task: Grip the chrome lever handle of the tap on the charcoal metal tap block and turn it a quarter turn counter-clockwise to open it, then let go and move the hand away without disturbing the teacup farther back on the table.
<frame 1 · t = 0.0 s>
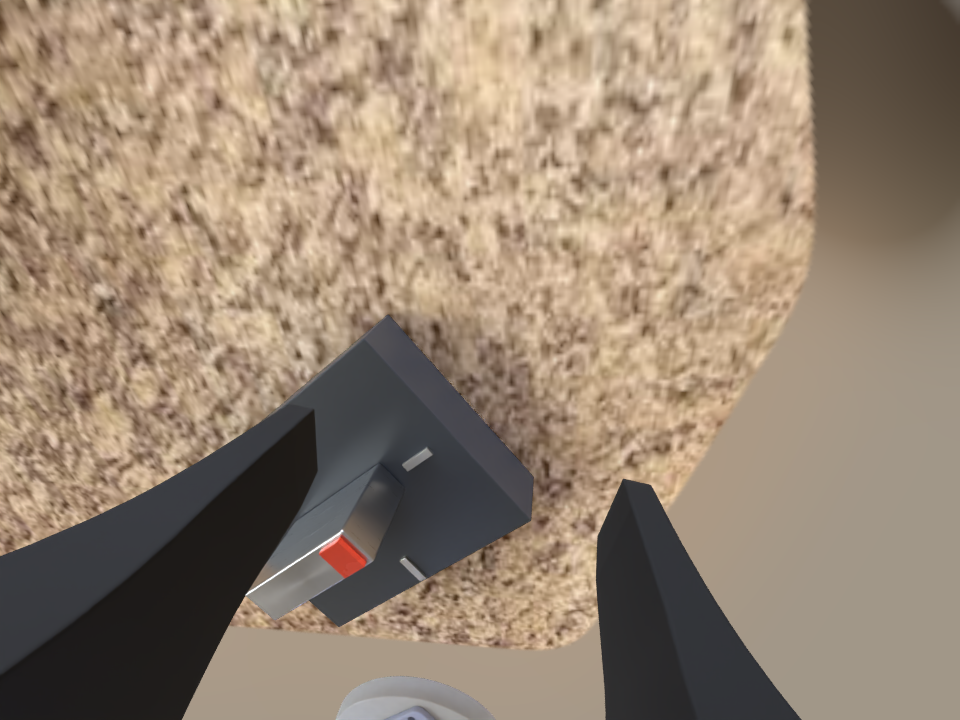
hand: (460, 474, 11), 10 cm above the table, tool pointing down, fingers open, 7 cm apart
tap block: (372, 464, 24), on the table
tap handle: (328, 541, 19), point 5 cm above the table, hinge at 0.0°
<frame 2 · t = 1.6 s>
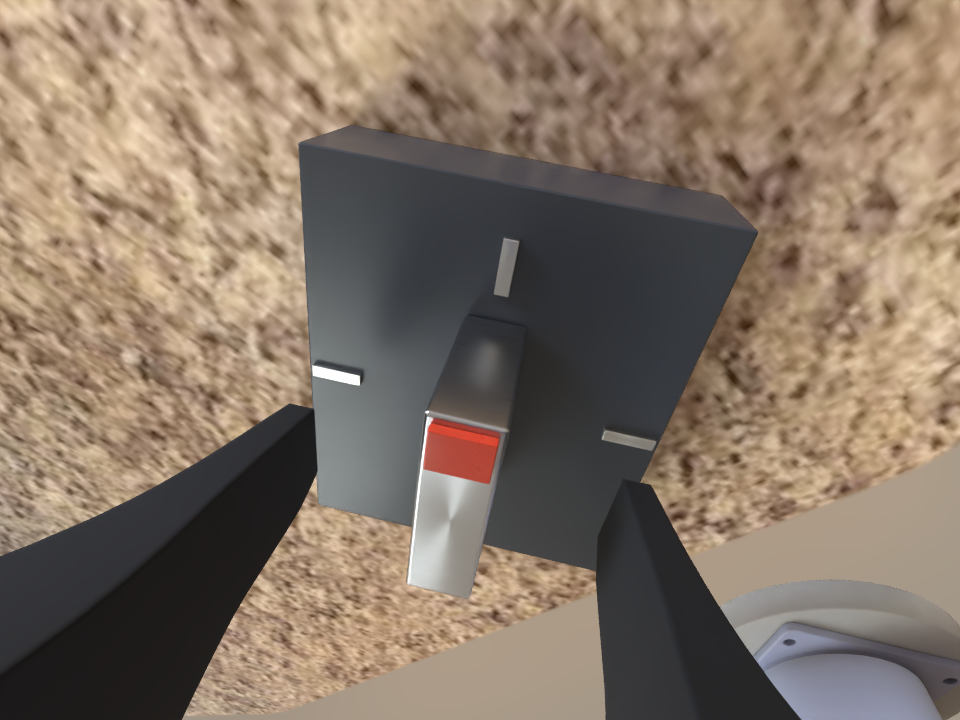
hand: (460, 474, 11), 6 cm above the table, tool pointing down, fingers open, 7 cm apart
tap block: (495, 349, 16), on the table
tap handle: (466, 458, 12), point 5 cm above the table, hinge at 0.0°
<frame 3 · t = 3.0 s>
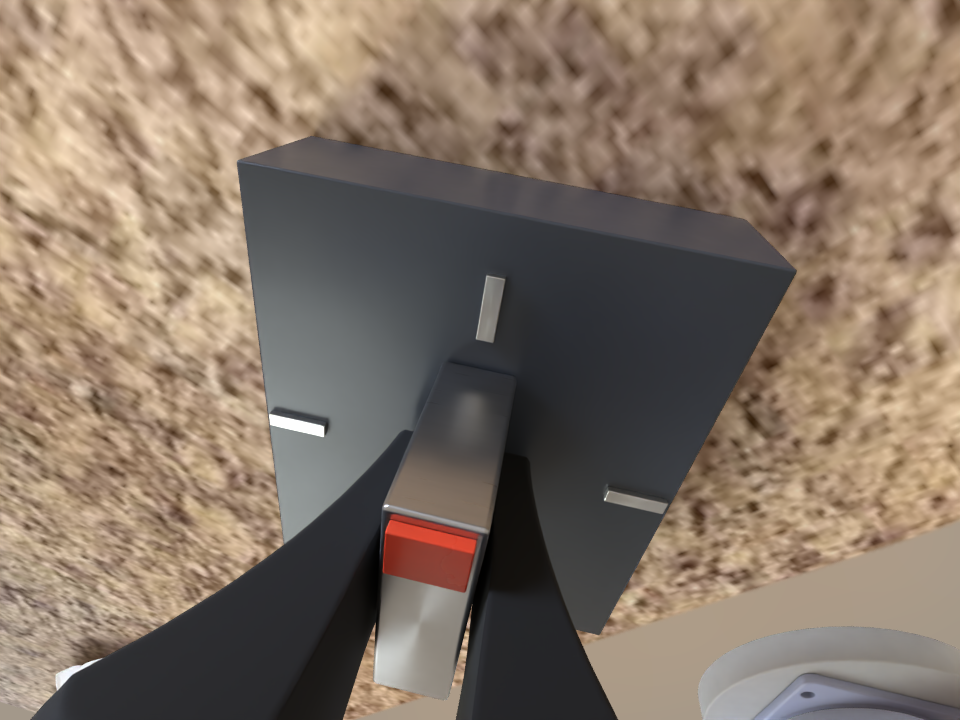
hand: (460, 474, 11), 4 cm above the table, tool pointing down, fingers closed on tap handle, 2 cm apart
tap block: (483, 387, 14), on the table
tissue: (120, 664, 30), on the table
tap handle: (443, 532, 10), point 5 cm above the table, hinge at -0.1°, touching gripper
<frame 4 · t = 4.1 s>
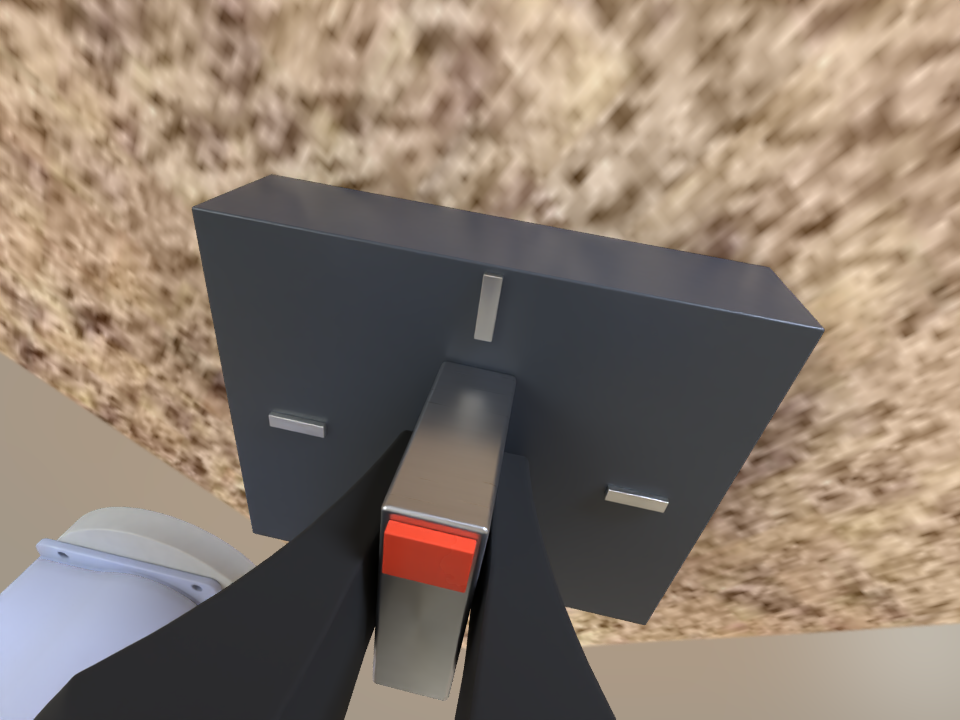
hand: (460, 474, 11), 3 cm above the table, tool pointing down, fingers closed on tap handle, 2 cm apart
tap block: (483, 387, 14), on the table
tap handle: (443, 532, 10), point 5 cm above the table, hinge at 89.4°, touching gripper
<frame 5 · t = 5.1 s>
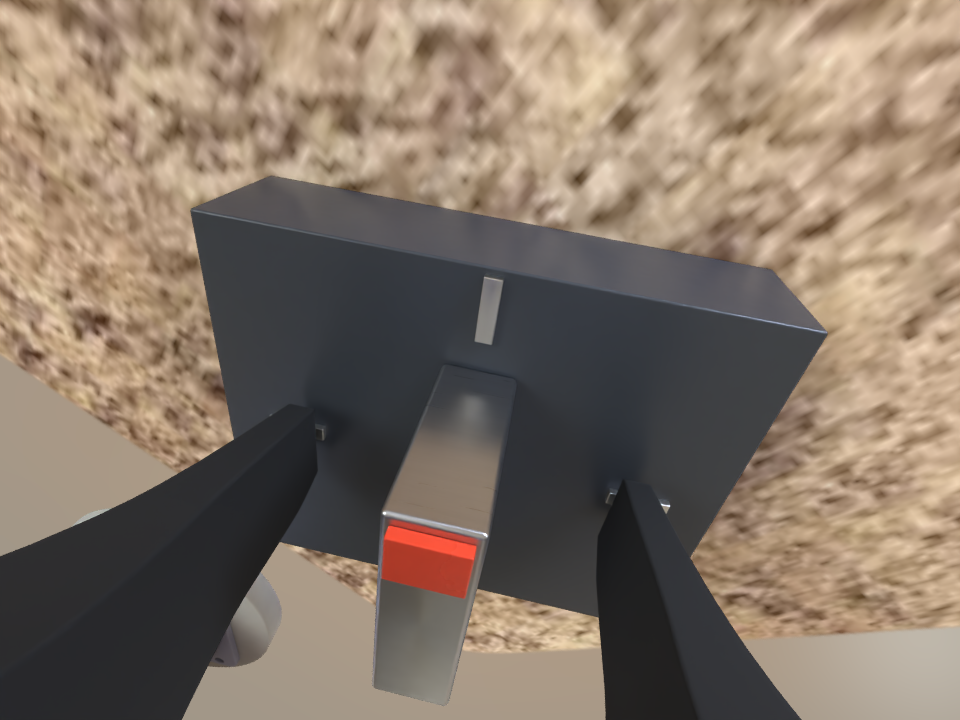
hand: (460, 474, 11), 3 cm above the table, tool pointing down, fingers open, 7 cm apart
tap block: (483, 389, 14), on the table
tap handle: (443, 536, 10), point 5 cm above the table, hinge at 89.5°
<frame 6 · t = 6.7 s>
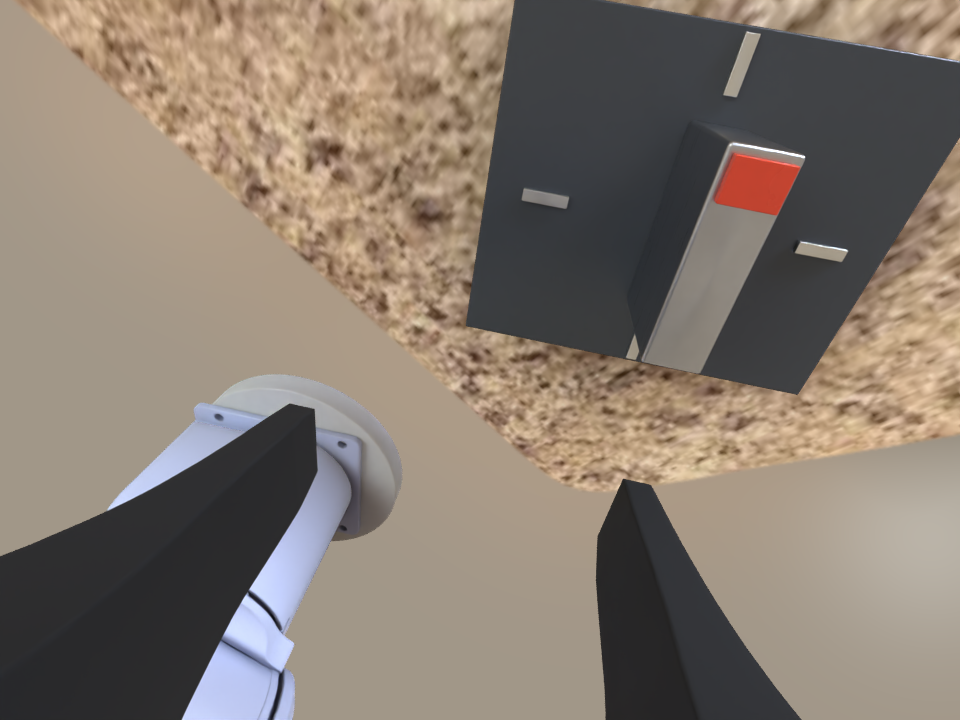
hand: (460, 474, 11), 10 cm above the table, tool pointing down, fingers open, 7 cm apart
tap block: (664, 199, 17), on the table
tap handle: (695, 247, 13), point 5 cm above the table, hinge at 89.5°
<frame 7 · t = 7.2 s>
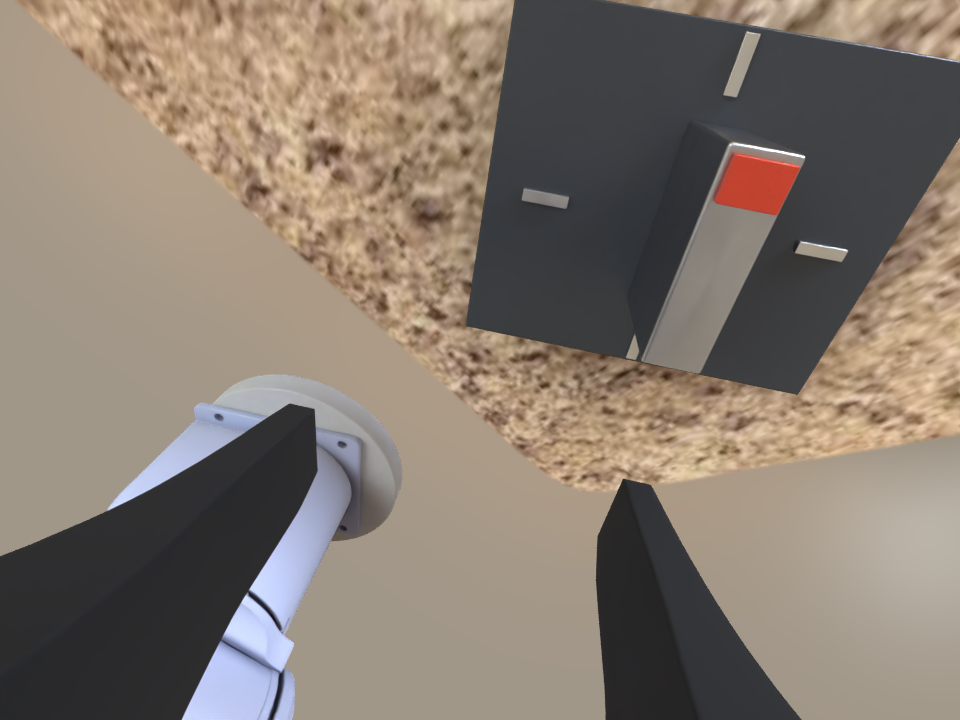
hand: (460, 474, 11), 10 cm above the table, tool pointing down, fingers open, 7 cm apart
tap block: (664, 199, 17), on the table
tap handle: (695, 247, 13), point 5 cm above the table, hinge at 89.5°
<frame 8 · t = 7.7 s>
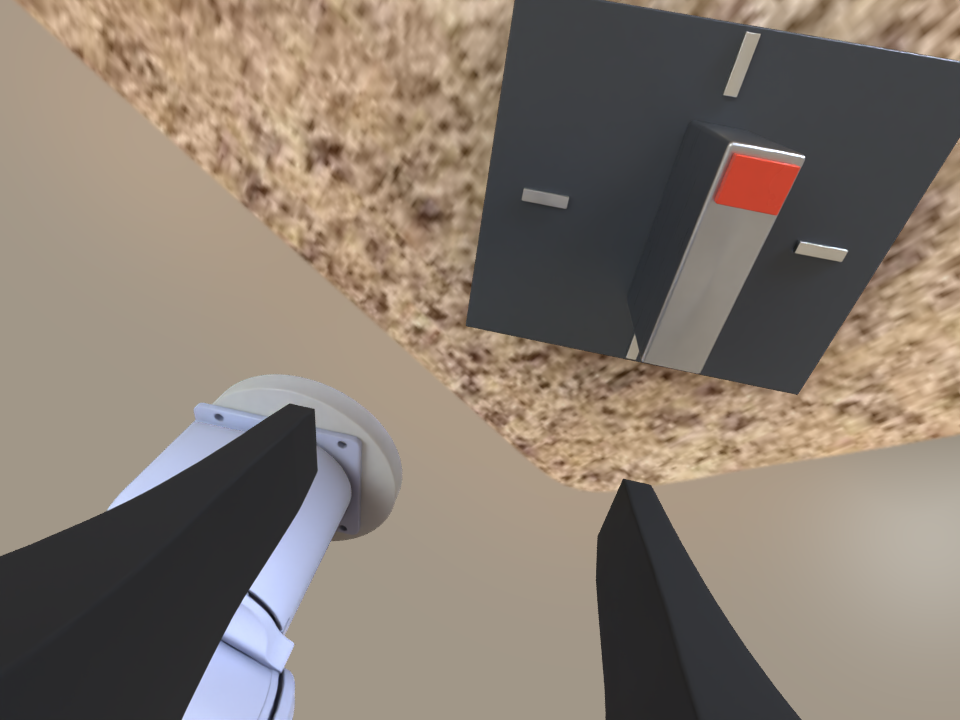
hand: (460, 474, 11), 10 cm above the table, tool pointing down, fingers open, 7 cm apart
tap block: (664, 199, 17), on the table
tap handle: (695, 247, 13), point 5 cm above the table, hinge at 89.5°
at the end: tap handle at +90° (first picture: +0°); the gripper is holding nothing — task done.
